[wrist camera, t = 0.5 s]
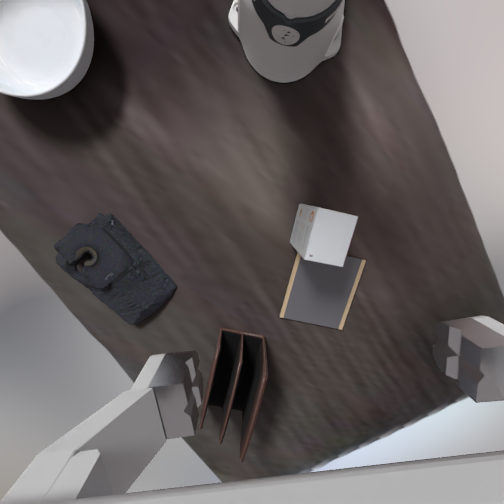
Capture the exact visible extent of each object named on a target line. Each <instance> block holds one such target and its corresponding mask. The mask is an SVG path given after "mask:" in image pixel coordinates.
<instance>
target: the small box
mask: <svg viewBox="0 0 504 504" xmlns="http://www.w3.org/2000/svg"><path fill="white" fill-rule="evenodd" d="M357 220H358V216H354V215H350V214H346V213H342V212H338V211H333V210H329V209H324V208H320V207H315V206H310V205H305V204H299V207H298V211H297V215H296V219H295V223H294V227H293V231H292V235H291V239H290V243H291V245H292V246H293V247H294V248H295V249H296V251H297V252H298V253H299V254H300V255H301V256H302V258H303V259H304V260H308V261H314V262H319V263H325V264H330V265H335V266H340V267H343V265H344V262H345V259H346V256H347V252H348V249H349V246H350V243H351V239H352V236H353V233H354V230H355V226H356V223H357Z"/></svg>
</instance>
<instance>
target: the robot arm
mask: <svg viewBox="0 0 504 504" xmlns="http://www.w3.org/2000/svg"><path fill="white" fill-rule="evenodd" d="M344 4H345V0H234V1H233V4H232V6H231V9H230V12H229V18H228V22H229V25H230V27H231V28H232V30H233V31H234V32H235V34H236V35H237V36H238V37H239V39H240V41H241V43H242V46H243V49H244V52H245V55H246V57H247V59H248V61H249V62H250V64H251V65H252V67H253V68H254V69H255V70H256V71H257V72H258V73H259V74H260V75H262V76H263V77H265V78H267V79H269V80H272V81H275V82H281V83H287V82H293V81H296V80H299V79H301V78H303V77H305V76H306V75H307V74H309V73H310V72H311V71H312V70H313V69H314V68H315V67H316V66H317V65H318V64H319V63H320V62H322V61H324V60H327V59H329V58H331V57H333V56H335V55H336V54H337V53H338V51H339V48H340V45H341V35H342V25H343V19H344V15H343V14H344ZM237 10H238V12H237ZM334 39H335V40H334ZM433 334H434V335H435V336H436V338H437V340H436V342H435V343H434V344H433V357H434V360H435V362H436V364H437V365H438V367H439V368H440V370H441V371H442V372H444V373H445V374H446V375H447V376H450V377H452V378H454V379H456V380H457V386H458V387H460V388H461V389H462V390H463V391H464V392H465V393H466V394H467V395H468V396H469V397H470V398H472V399H473V400H474V401H475V402H476V403H478V402H490V401H502V400H504V324H502V323H500V322H498V321H496V320H494V319H492V318H490V317H488V316H476V317H469V318H464V319H457V320H450V321H442V322H436V324H435V326H434V332H433ZM198 365H199V358H198V353H197V352H196V351H186V352H176V353H167V354H166V353H165V354H157V355H152V356H150V357H149V359H148V361H147V362H146V364H145V366H144V367H143V369H142V371H141V372H140V374H139V376H138V378H137V379H136V381H135V383H134V384H133V386H132V388H131V389H130V390H129V391H125V392H123V393H122V394H120V395H119V396H118V397H116V398H115V399H114V400H112V401H111V402H109V403H108V404H107V405H105V406H104V407H102V408H101V409H100V410H98V411H97V412H95V413H94V414H93V415H91V416H90V417H89V418H87V419H86V420H85V421H83V422H82V423H80V424H79V425H78V426H76V427H75V428H73V429H72V430H71V431H69V432H68V433H67V434H65V435H64V436H62V437H61V438H60V439H58V440H57V441H56V442H54V443H53V444H51V445H50V446H49V447H47V448H46V449H44V450H43V451H42V452H40V453H39V454H38V455H37V456H36V457H35V458H34V460H33V461H32V462H31V463H30V465H29V466H28V467H27V468H26V470H25V471H24V472H23V474H22V475H21V476H20V477H19V479H18V480H17V481H16V482H15V484H14V485H13V486H12V487H11V489H10V490H9V491H8V492H7V494H6V495H5V496H4V498H3V499H2V500H1V501H0V504H504V451H495V452H486V453H477V454H469V455H459V456H451V457H442V458H433V459H424V460H415V461H406V462H398V463H389V464H380V465H372V466H363V467H354V468H345V469H338V470H337V469H336V470H327V471H319V472H310V473H301V474H292V475H283V476H275V477H266V478H257V479H248V480H239V481H230V482H222V483H213V484H205V485H195V486H186V487H178V488H169V489H160V490H152V491H143V492H133V493H126V491H127V490H128V489H129V488H130V486H131V485H132V484H133V482H134V481H135V480H136V479H137V478H138V476H139V475H140V474H141V473H142V471H143V470H144V469H145V467H146V466H147V465H148V463H149V462H150V461H151V460H152V459H153V457H154V456H155V455H156V454H157V452H158V451H159V450H160V448H161V447H162V446H163V445H164V443H165V442H166V439H172V438H179V437H185V436H192V435H195V431H196V427H197V422H198V417H199V413H198V407H199V406H200V404H201V403H202V398H203V377H202V373H201V372H200V371H199V370H198V369H197V368H198Z"/></svg>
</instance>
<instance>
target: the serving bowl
mask: <svg viewBox="0 0 504 504" xmlns="http://www.w3.org/2000/svg"><path fill="white" fill-rule="evenodd" d="M93 50H94V29H93V22H92V17H91V13H90V10H89V7H88V4H87V1H86V0H0V93H2V94H5V95H9V96H13V97H18V98H23V99H31V100H43V99H50V98H54V97H58V96H60V95H63V94H65V93H67V92H68V91H70V90H71V89H73V88H74V87H75V86H76V85H77V84H78V83H79V82H80V81H81V80H82V78H83V77H84V76H85V74H86V72H87V70H88V68H89V66H90V63H91V59H92V55H93Z"/></svg>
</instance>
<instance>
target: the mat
mask: <svg viewBox="0 0 504 504" xmlns="http://www.w3.org/2000/svg"><path fill="white" fill-rule="evenodd" d="M365 262H366V260H363V259H358V258H354V257H350V256H346V259H345V262H344V265H343V267H340V266H335V265H330V264H325V263H319V262H314V261H308V260H304V259H303V258H302V256H301V255H300V254H299V253H298V252H297V255H296V258H295V262H294V265H293V269H292V273H291V276H290V280H289V283H288V287H287V290H286V294H285V298H284V301H283V305H282V308H281V312H280V315H279V317H280V318H286V319H291V320H296V321H301V322H306V323H311V324H316V325H321V326H326V327H331V328H336V329H340V330H342V328H343V325H344V323H345V320H346V317H347V314H348V311H349V308H350V305H351V302H352V300H353V297H354V294H355V291H356V288H357V285H358V282H359V279H360V277H361V274H362V271H363V268H364V265H365Z"/></svg>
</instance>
